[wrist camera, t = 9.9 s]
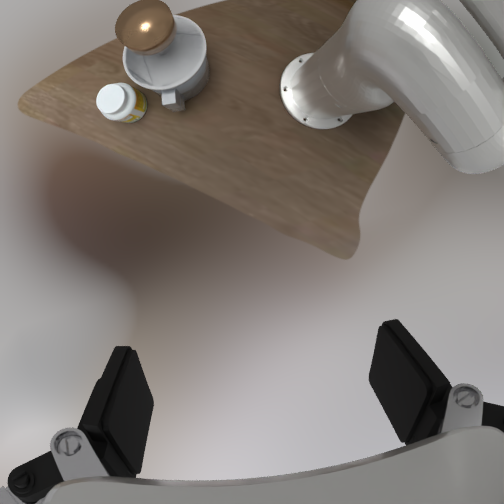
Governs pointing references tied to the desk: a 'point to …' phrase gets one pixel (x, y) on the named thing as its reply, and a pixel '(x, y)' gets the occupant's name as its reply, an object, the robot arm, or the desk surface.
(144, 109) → the supplement bottle
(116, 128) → the desk surface
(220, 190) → the desk surface
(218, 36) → the desk surface
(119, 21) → the plunger
